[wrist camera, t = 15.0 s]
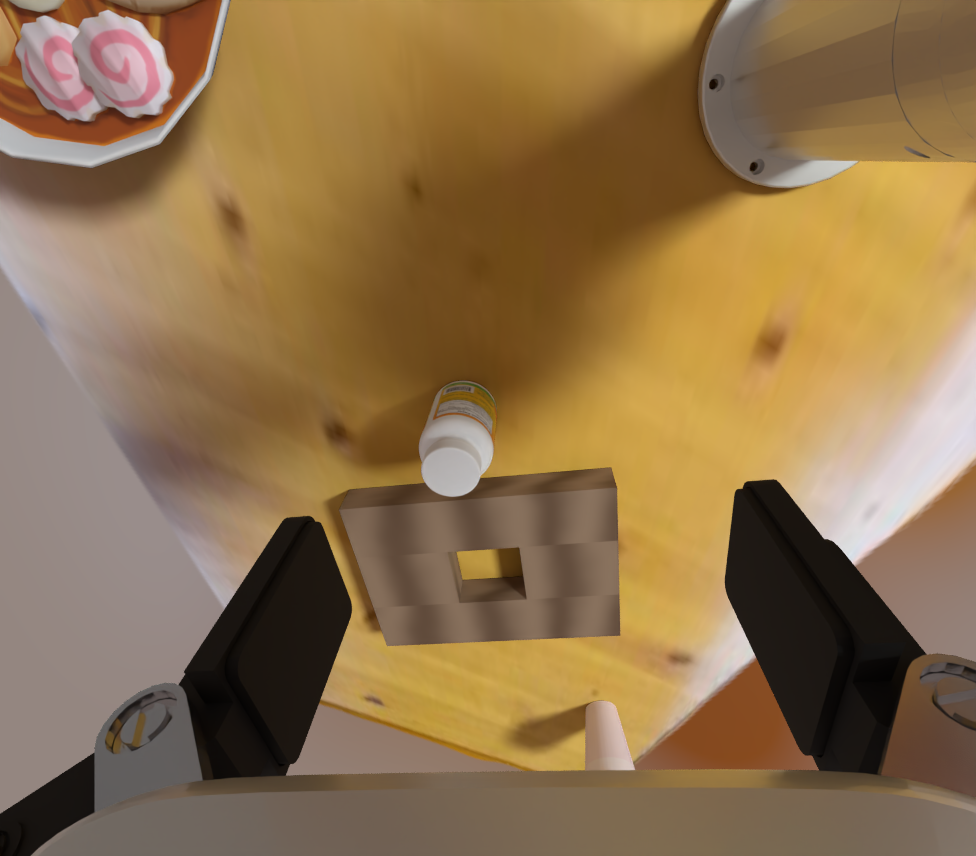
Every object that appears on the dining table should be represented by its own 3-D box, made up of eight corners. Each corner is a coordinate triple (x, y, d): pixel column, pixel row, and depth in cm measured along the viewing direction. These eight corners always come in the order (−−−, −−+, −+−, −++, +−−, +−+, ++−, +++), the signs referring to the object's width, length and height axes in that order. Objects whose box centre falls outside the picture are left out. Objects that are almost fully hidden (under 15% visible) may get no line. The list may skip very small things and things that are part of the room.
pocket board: (611, 467, 43) (616, 487, 41) (615, 611, 52) (620, 635, 49) (349, 489, 46) (338, 509, 44) (393, 622, 55) (387, 645, 52)
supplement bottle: (467, 447, 43) (454, 518, 35) (420, 408, 42) (394, 473, 33) (510, 408, 41) (507, 473, 33) (462, 365, 40) (446, 423, 31)
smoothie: (592, 687, 58) (612, 829, 46) (638, 704, 59) (669, 848, 47) (564, 715, 61) (575, 855, 49) (608, 731, 62) (630, 873, 50)
